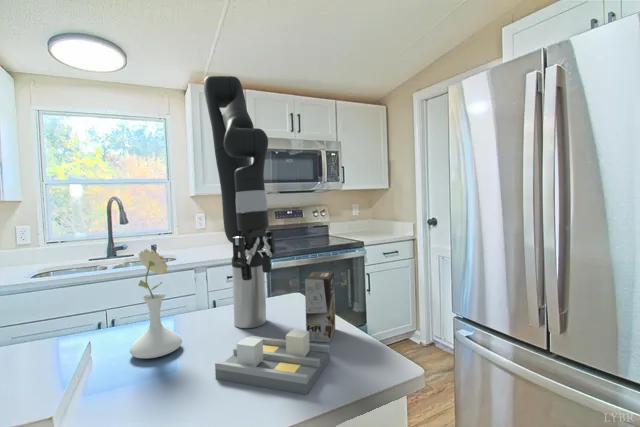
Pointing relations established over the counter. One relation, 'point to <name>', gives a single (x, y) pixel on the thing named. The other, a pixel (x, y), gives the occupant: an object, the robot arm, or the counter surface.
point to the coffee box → (320, 306)
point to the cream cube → (297, 343)
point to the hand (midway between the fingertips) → (257, 276)
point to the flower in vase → (154, 315)
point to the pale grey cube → (250, 351)
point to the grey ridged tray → (277, 367)
